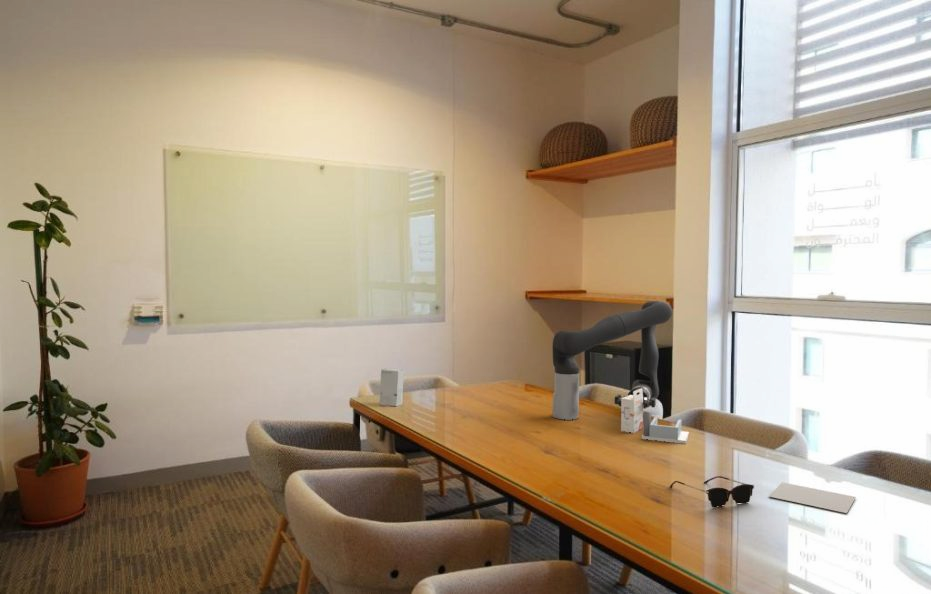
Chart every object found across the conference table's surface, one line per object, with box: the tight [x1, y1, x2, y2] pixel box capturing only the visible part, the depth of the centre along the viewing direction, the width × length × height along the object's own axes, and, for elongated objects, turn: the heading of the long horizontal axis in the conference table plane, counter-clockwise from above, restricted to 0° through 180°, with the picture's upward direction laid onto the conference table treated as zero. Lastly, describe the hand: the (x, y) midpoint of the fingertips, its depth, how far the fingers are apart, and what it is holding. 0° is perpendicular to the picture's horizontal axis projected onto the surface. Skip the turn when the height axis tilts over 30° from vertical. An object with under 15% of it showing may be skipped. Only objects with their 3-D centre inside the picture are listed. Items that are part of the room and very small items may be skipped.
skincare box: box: [379, 367, 405, 407], centre depth 262 cm, size 8×6×15 cm
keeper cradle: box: [641, 410, 690, 445], centre depth 213 cm, size 14×13×9 cm
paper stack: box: [768, 482, 856, 514], centre depth 156 cm, size 23×25×1 cm
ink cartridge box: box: [620, 388, 644, 434], centre depth 222 cm, size 9×5×15 cm, turn 143°
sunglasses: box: [669, 475, 755, 508], centre depth 157 cm, size 14×16×5 cm
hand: (632, 404), depth 222 cm, fingers open, 8 cm apart
